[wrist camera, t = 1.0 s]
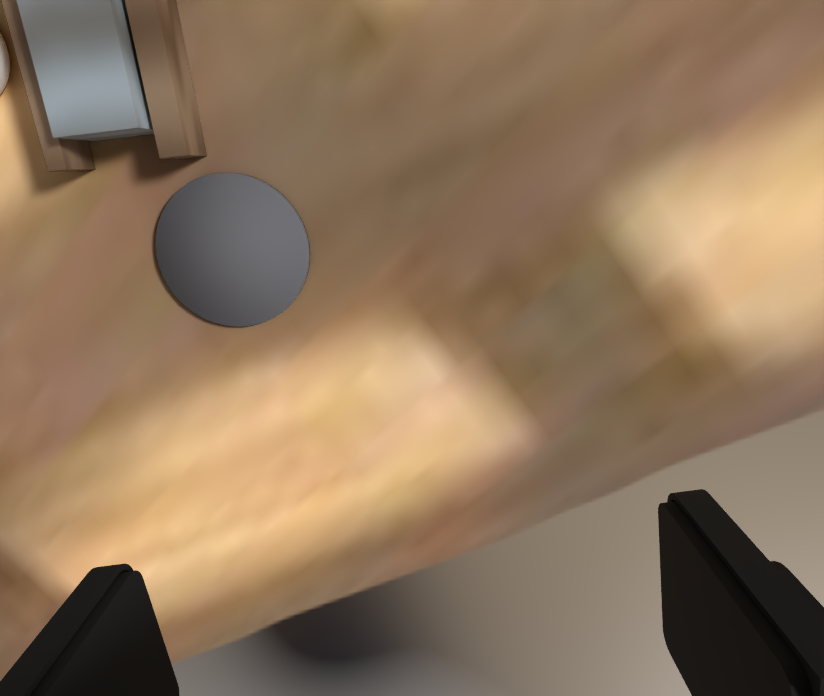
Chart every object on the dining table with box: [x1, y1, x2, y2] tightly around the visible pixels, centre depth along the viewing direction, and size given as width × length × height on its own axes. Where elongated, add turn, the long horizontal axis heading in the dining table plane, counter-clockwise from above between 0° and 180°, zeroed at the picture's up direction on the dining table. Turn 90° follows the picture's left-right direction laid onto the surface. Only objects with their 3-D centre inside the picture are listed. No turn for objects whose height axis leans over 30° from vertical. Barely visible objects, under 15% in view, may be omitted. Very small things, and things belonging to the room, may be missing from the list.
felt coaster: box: [155, 173, 310, 327], centre depth 36 cm, size 9×9×1 cm
